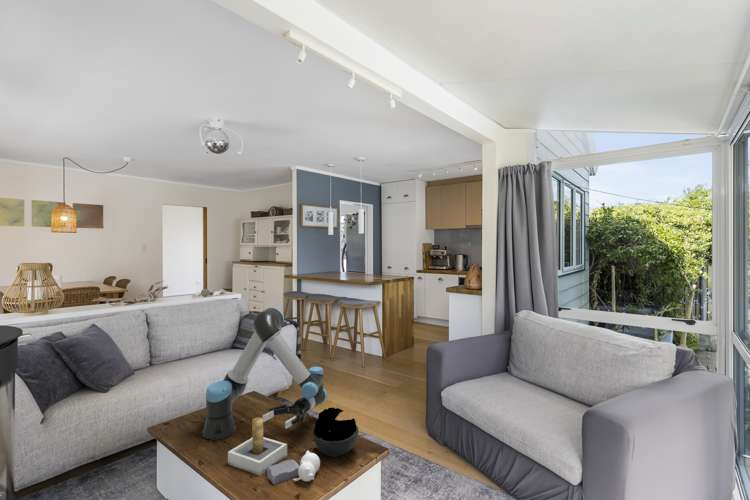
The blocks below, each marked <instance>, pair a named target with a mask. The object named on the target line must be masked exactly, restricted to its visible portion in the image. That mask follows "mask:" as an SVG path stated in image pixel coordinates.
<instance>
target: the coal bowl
mask: <svg viewBox="0 0 750 500" xmlns="http://www.w3.org/2000/svg"><path fill="white" fill-rule="evenodd" d="M342 412H344V410H343V409H341V408H339V407H338V408H335V407H327V408H324V409H323V410H322V411H320V412H319V413H318V416H317V420H316V421H315V422H314V423H315V425H314V429H312V438H313V439H312V440H313V442H314V445H315V446H316V448H317V449H318V450H319V451H320V452H321V453H322V454H324V455H325V456H328V457H334V458H335V457H341V456H343V455H345V454H347V453H348V452H350V450H351V449H353V448H354V446H355V445H356V444H357V443H356V442H357V440H358V437H359V432H360V431H359V426H358V425H357V423H356V422H357V421H356V419H355V418H354V417H353V418H352V419H342V420H341V419H337V418H338V416H339V415H340V413H341V414H342Z"/></svg>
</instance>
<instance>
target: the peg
mask: <svg viewBox="0 0 750 500" xmlns="http://www.w3.org/2000/svg"><path fill="white" fill-rule="evenodd" d="M251 422H252V423H251V424H252V425H251V426H252V429H251V431H252V432H251V433H252V437H251V438H252V439H253V454H254V455H257V456H258V455H260V454H261V453H263V437H264V422H263V417H258V416H257V417H255V418H253V419H252V421H251Z"/></svg>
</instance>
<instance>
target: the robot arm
mask: <svg viewBox="0 0 750 500" xmlns="http://www.w3.org/2000/svg"><path fill="white" fill-rule="evenodd" d="M284 316H285V315H284V313H283V312H282V311H281V309H280V308H276V307H267V308H266V309H264V310H262V311H260V312H258V313H257V314H256V315H255V317H254V319H253V323H252V326H253V331H254V332H253V333H252V335H251V337H250V338H249V341H248V342H247V344H246V345H245V347H244V349H243V351H242V352H241V354H240V356H239V358H238V360H237V361H236V363H235V365H234V366H233V368H232V369H229V370H228V371H227V373H226V375H224V378H223V380H219V381H216V382H213V383H211V384H210V385H208V387H207V388H206V392H205V405H206V406H205V411H206V412H205V413H206V414H205V416H206V419H205V422H204V426H203V428H202V438H203V437H204V438H203V439H205V438H206V439H205V440H207V439H210V440H209V441H216V440H222V439H225V438H226V439H227V438H228V437H230V436H232V435H234V434H235V432H236V430H237V425H236V421H235V419H234V416H233V403H234V402H235V401H236V400H237V399H238V398H240V397H241V395H242V394H244V392H245V390H246V387H247V384H248V382H249V374H250V373H251V371H252V370H253V368H254V366H255V364H256V363H257V361H258V359H259V357H260V356H261V354H262V352H263V351H264V349H265V347H266V345H267V346H268V347H269V349H270V350H271V351H272V352H273V354H274V355H275V357H276V358H277V359H278V360H279V361H280V363H281V364H282V365H283V367H284V368H285V369H286V370H287V372H288V373H289V375H291V377H292V378H293V380H294V381H295V382H296V384H297V385H298V387H299V388H300V389H301V390H300V393H301V395H302V397H300V398H297V399H296V400H295V401H294V403H293V404H291V405H290V403H288V402H287V403H284V404H282V405H278V406H275V407H270V408H269V412H267V413H265V414H263V415H262V417H261V418H263V423H265V422H266V421H269V420H270V419H272V418H274V417H275V416H277V415H278V416H279V415H285V414H286V415H295V416H293V417H291V418H290V419H288V420H286V421H285V422H284V423H285V425H284V427H285V429H288V428H290V427H292V426H293V425H296V424H297V423H304V422H305V420H306V418H307V416H308V415H309V414H310V413H309V412H310V411H311V410H313V409H314V408H316V407H318V406H319V405H322V404H323V403H325V401H326V400H328V392H327V390H326V388H324V368H323V367H321V366H313V367H310V368H308V369H307V367H306V366H305V364H304V363H303V362H302V360H301V359H300V358H299V357H298V356H297V354H296V353H295V352H294V350H293V349H292V348H291V347H290V345H289V344H288V342H287V341H286V340H285V339H284V337H283V336H282V334H281V329H279V328H280V327H282V325H283V324H284V322H285V317H284Z"/></svg>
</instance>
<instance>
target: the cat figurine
mask: <svg viewBox="0 0 750 500" xmlns="http://www.w3.org/2000/svg"><path fill="white" fill-rule="evenodd" d="M299 463H300V464H299V466H300V467H299V469H298V477H295V478H292V481H293V482H297V481H299V480H301V481H303V482H305V483H306V482H311V481H312V480H315V475H316V473H317V472H318V471H319V469H320V467H321V459H320V457H319V456H318V455H317V454H316V453H314V452H311V451H309V449H308V450H307V451H306V452H305V454H304V455H303V456H302V457H301V459H300V462H299Z"/></svg>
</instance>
